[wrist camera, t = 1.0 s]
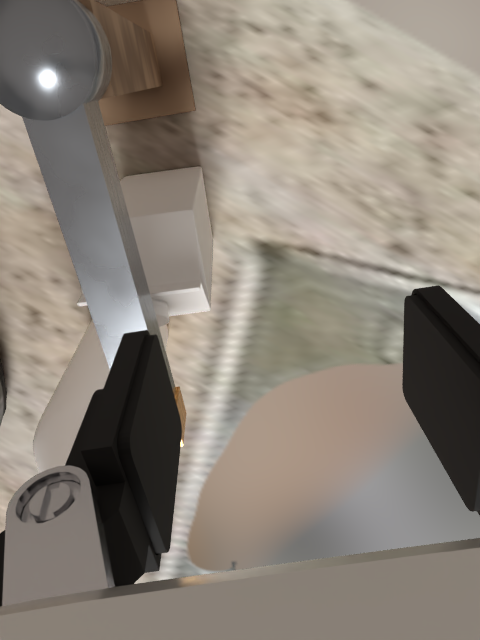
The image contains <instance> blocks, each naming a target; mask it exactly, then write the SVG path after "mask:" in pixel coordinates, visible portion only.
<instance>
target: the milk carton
mask: <svg viewBox="0 0 480 640" xmlns="http://www.w3.org/2000/svg"><path fill="white" fill-rule="evenodd" d="M120 184H121V188H122V192H123V195H124V199H125V203H126V207H127V210H128V214H129V218H130V221H131V225H132V229H133V232H134V236H135V240H136V244H137V247H138V251H139V255H140V258H141V262H142V266H143V270H144V273H145V277H146V281H147V284H148V288H149V292H150V295H151V299H152V303H153V307H154V310H155V314H156V318H157V321H158V325H159V327H161V326H164V325H166V324H167V323H168V322H169V316H174V315H182V314H190V313H197V312H205V311H210V310H211V285H212V260H213V236H212V230H211V223H210V217H209V211H208V204H207V198H206V192H205V185H204V179H203V173H202V167H200V166H198V167H190V168H182V169H175V170H168V171H160V172H153V173H146V174H138V175H131V176H126V177H124V178H123V179H122V180H121V181H120ZM77 304H78V306H86V305H87V302H86V299H85V296H84V294H83V291H82V296H81V298H80V299H79V301H78V303H77Z"/></svg>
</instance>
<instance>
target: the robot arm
mask: <svg viewBox="0 0 480 640" xmlns="http://www.w3.org/2000/svg"><path fill="white" fill-rule="evenodd" d="M403 393H404V397H405V399H406V402H407V403H408V405H409V407H410V409H411V410H412V412H413V414H414V416H415V417H416V419H417V421H418V423H419V424H420V426H421V428H422V430H423V431H424V433H425V435H426V437H427V438H428V440H429V442H430V444H431V445H432V447H433V449H434V451H435V453H436V454H437V456H438V458H439V459H440V461H441V463H442V465H443V467H444V468H445V470H446V472H447V473H448V475H449V477H450V479H451V481H452V482H453V484H454V486H455V488H456V489H457V491H458V493H459V494H460V496H461V498H462V500H463V502H464V503H465V505H466V507H467V508H468V509H469V510H470V511H477V512H478V513H479V515H480V324H479V323H478V322H477V321H476V320H475V319H474V318H473V317H472V316H471V315H470V314H469V313H467V312H466V311H465V310H464V309H463V308H462V307H461V306H460V305H459V304H458V303H457V302H456V301H455V300H454V299H453V298H452V297H451V296H450V295H449V294H448V293H447V292H446V291H445V290H444V289H443V288H442V287H440V286H432V287H425V288H419V289H414V290H413V292H412V296H406V298H405V303H404V345H403ZM181 436H182V424H181V419H180V415H179V411H178V407H177V404H176V400H175V397H174V393H173V389H172V386H171V382H170V378H169V375H168V371H167V367H166V364H165V360H164V357H163V353H162V349H161V346H160V342H159V339H158V336H157V335H156V334H155V335H150V334H149V332H148V330H143V331H136V332H130V333H124V334H123V337H122V339H121V342H120V345H119V347H118V350H117V353H116V356H115V358H114V361H113V364H112V366H111V369H110V372H109V375H108V377H107V380H106V383H105V386H104V388H103V389H98V390H96V391H95V392H94V394H93V395H92V398H91V400H90V403H89V406H88V408H87V411H86V413H85V416H84V418H83V421H82V423H81V426H80V428H79V431H78V434H77V436H76V439H75V441H74V444H73V446H72V449H71V451H70V454H69V456H68V459H67V461H66V464H65V466H58V467H54V468H51V469H47V470H45V471H43V472H41V473H39V474H37V475H35V476H34V477H32V478H31V479H30V480H28V481H27V482H25V483H24V484H23V485H22V486H21V487H20V488H19V489H18V490H17V491H16V493H15V494H14V495H13V497H12V499H11V500H10V502H9V504H8V508H7V512H6V528H5V530H4V531H3V532H2V533H0V640H480V538H476V539H468V540H461V541H453V542H444V543H437V544H429V545H421V546H414V547H406V548H398V549H391V550H383V551H376V552H368V553H360V554H353V555H345V556H338V557H330V558H322V559H315V560H308V561H300V562H293V563H285V564H277V565H270V566H263V567H256V568H248V569H241V570H233V571H226V572H219V573H212V574H204V575H197V576H190V577H182V578H175V579H168V580H161V581H153V582H146V583H139V584H134V583H135V582H136V581H137V580H138V579H139V578H140V577H141V576H142V575H143V574H144V573H146V572H154V571H159V568H160V560H161V553H166V552H168V551H169V549H170V542H171V532H172V523H173V513H174V504H175V494H176V484H177V475H178V465H179V456H180V446H181Z"/></svg>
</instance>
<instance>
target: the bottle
mask: <svg viewBox="0 0 480 640" xmlns="http://www.w3.org/2000/svg"><path fill="white" fill-rule="evenodd" d="M159 329H160V333H161V336H162V340H163V344H164V347H165V351H166V346H167V340H168V328H167V324H166V325H164V326H161V327H159ZM109 372H110V369H109V366H108V363H107V360H106V357H105V354H104V351H103V348H102V346H101V343H100V340H99V337H98V334H97V331H96V328H95V325H94V322H93V320H91V322H90V324H89V326H88V328H87V330H86V332H85V334H84V336H83V338H82V340H81V342H80V343H79V345H78V347H77V349H76V351H75V353H74V355H73V357H72V359H71V361H70V363H69V365H68V367H67V369H66V370H65V372H64V374H63V376H62V378H61V380H60V382H59V384H58V386H57V388H56V390H55V392H54V394H53V396H52V397H51V399H50V401H49V403H48V405H47V407H46V409H45V411H44V413H43V415H42V417H41V419H40V421H39V423H38V426H37V429H36V432H35V436H34V440H33V451H34V457H35V461H36V464H37V468H38V471H39V473H41V472H43V471H45V470H47V469H51V468H54V467H58V466H65V464H66V461H67V459H68V456H69V454H70V451H71V449H72V446H73V444H74V441H75V439H76V436H77V434H78V431H79V428H80V426H81V423H82V421H83V418H84V416H85V413H86V411H87V408H88V406H89V403H90V400H91V398H92V395H93V394H94V392H95V391H96V390H98V389H103V388H104V386H105V383H106V380H107V377H108V375H109Z"/></svg>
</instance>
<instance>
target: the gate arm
mask: <svg viewBox="0 0 480 640" xmlns="http://www.w3.org/2000/svg"><path fill="white" fill-rule="evenodd" d="M111 73H112V54H111V49H110V45H109V41H108V38H107V36H106V34H105V31H104V29H103V28H102V26H101V24H100V23H99V21H98V20H97V18H96V17H95V16H94V15H93V13H92V12H91V11H90V10H89V9H88V8H87V7H86V6H84V5H83V4H82V3H81V2H79V1H78V0H0V104H1V105H3V106H4V107H5V108H7V109H8V110H10V111H12V112H13V113H15V114H18V115H20V116H22V118H23V120H24V123H25V126H26V129H27V132H28V135H29V138H30V141H31V144H32V146H33V149H34V152H35V155H36V158H37V161H38V164H39V167H40V169H41V172H42V175H43V178H44V181H45V184H46V187H47V190H48V193H49V195H50V198H51V201H52V204H53V207H54V210H55V213H56V216H57V219H58V221H59V224H60V227H61V230H62V233H63V236H64V239H65V242H66V245H67V247H68V250H69V253H70V256H71V259H72V262H73V265H74V268H75V270H76V273H77V276H78V279H79V282H80V285H81V288H82V291H83V294H84V296H85V299H86V302H87V305H88V308H89V311H90V314H91V317H92V320H93V322H94V325H95V328H96V331H97V334H98V337H99V340H100V343H101V346H102V348H103V351H104V354H105V357H106V360H107V363H108V366H109V369H111V366H112V364H113V361H114V358H115V356H116V353H117V350H118V347H119V345H120V342H121V339H122V337H123V334H124V333H130V332H136V331H143V330H148V332H149V334H150V335H155V334H156V335H157V336H158V339H159V342H160V346H161V349H162V353H163V357H164V360H165V364H166V367H167V371H168V375H169V378H170V382H171V386H172V389H173V393H174V397H175V400H176V404H177V407H178V411H179V415H180V419H181V424H182V436H181V446H183V442H184V432H185V422H186V410H185V406H184V402H183V398H182V394H181V391H180V387H175V384H174V381H173V377H172V373H171V370H170V366H169V362H168V358H167V355H166V351H165V347H164V344H163V340H162V336H161V333H160V329H159V325H158V321H157V318H156V314H155V310H154V307H153V303H152V299H151V295H150V292H149V288H148V284H147V281H146V277H145V273H144V270H143V266H142V262H141V258H140V255H139V251H138V247H137V244H136V240H135V236H134V232H133V229H132V225H131V221H130V218H129V214H128V210H127V207H126V203H125V199H124V195H123V192H122V188H121V184H120V181H119V177H118V173H117V170H116V166H115V162H114V158H113V155H112V151H111V147H110V144H109V140H108V136H107V132H106V129H105V125H104V121H103V118H102V114H101V110H100V107H99V103H98V101H99V100H100V99H101V98H102V96H103V95H104V93H105V92H106V90H107V87H108V85H109V82H110V79H111Z"/></svg>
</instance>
